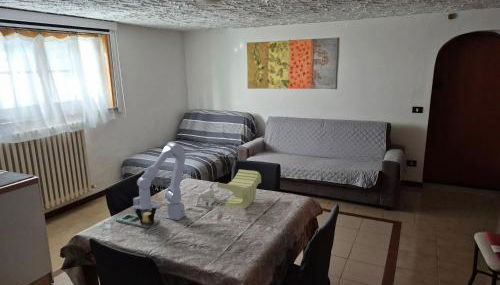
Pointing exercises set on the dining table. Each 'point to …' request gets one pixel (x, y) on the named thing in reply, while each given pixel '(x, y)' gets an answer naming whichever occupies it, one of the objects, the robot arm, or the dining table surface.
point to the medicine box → (137, 202)
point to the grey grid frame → (135, 217)
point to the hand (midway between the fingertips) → (147, 221)
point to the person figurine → (209, 195)
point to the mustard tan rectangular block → (146, 218)
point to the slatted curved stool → (242, 188)
